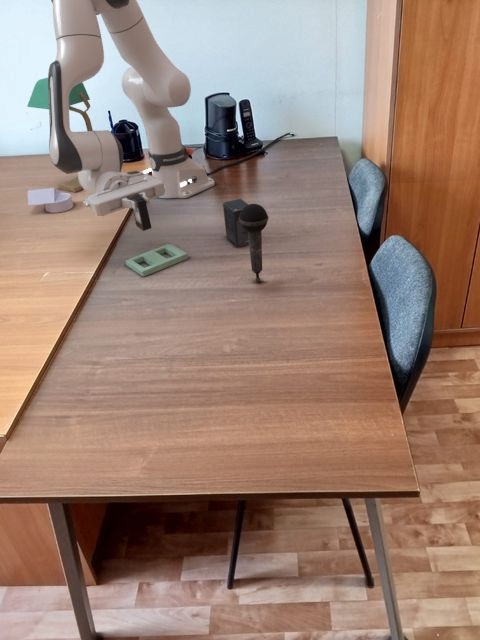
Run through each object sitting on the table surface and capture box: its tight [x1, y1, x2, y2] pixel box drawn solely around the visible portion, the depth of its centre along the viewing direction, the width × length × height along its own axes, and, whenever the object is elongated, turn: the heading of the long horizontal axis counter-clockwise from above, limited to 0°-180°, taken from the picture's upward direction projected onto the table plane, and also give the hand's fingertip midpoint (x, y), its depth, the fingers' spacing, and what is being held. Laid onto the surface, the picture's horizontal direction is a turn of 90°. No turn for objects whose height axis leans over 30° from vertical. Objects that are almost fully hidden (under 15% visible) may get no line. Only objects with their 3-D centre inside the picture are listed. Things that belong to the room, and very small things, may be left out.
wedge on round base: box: [27, 187, 74, 214], centre depth 177 cm, size 9×7×13 cm
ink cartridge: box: [130, 195, 152, 232], centre depth 135 cm, size 5×2×8 cm, turn 34°
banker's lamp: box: [26, 77, 94, 193], centre depth 187 cm, size 16×21×35 cm
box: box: [222, 198, 249, 248], centre depth 148 cm, size 8×6×11 cm
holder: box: [125, 243, 189, 277], centre depth 143 cm, size 14×9×2 cm, turn 130°
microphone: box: [239, 203, 269, 283], centre depth 126 cm, size 7×7×20 cm
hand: (142, 204), depth 133 cm, fingers closed on ink cartridge, 1 cm apart
